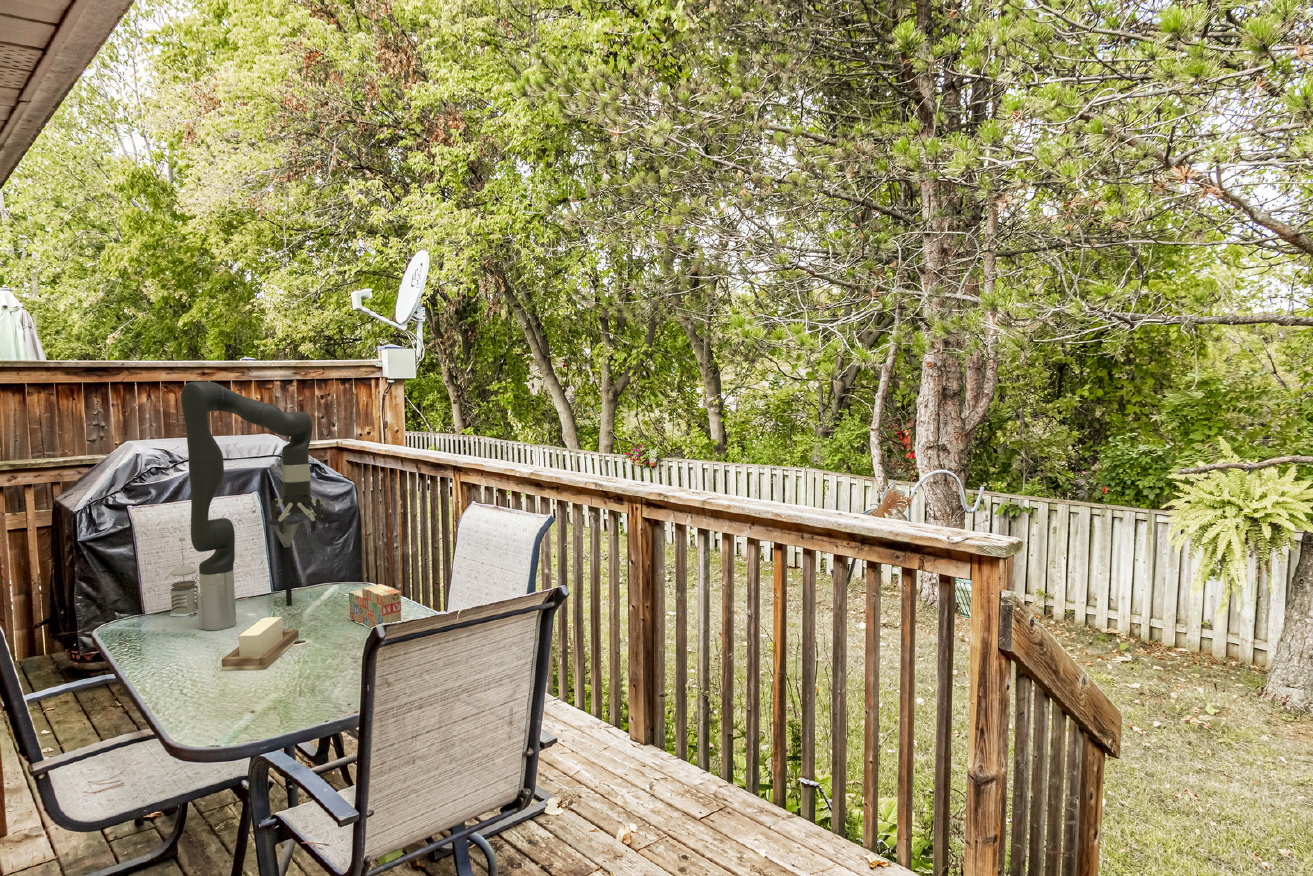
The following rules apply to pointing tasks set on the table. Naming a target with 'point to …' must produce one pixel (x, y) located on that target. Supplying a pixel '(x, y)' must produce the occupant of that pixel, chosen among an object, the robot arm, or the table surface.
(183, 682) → the table surface
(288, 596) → the solar garden light
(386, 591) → the stack of blocks
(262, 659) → the wooden serving tray
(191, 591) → the french press
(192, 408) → the robot arm
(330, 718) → the table surface
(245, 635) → the block
